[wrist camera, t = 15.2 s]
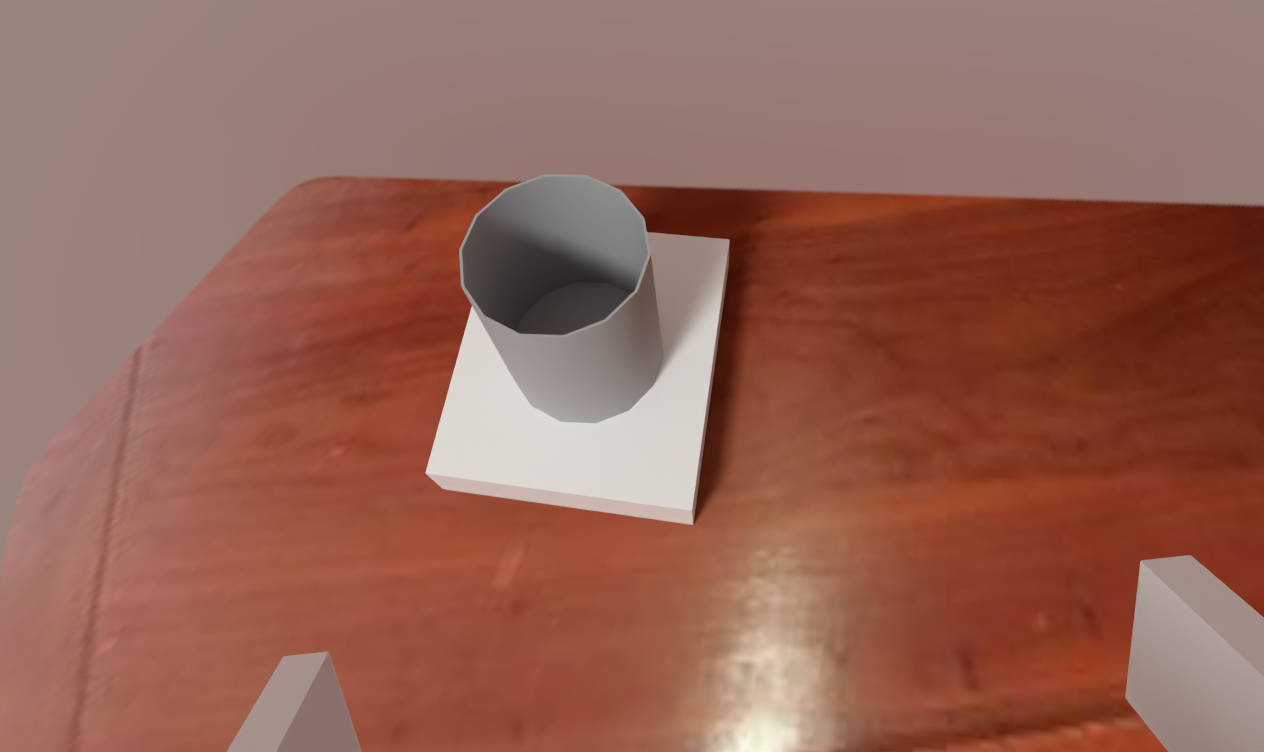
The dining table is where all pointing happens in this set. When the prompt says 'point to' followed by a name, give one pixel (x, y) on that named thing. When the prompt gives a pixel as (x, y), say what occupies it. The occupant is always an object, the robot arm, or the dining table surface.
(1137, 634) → the robot arm
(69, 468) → the dining table surface
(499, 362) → the raised board
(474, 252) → the cup
